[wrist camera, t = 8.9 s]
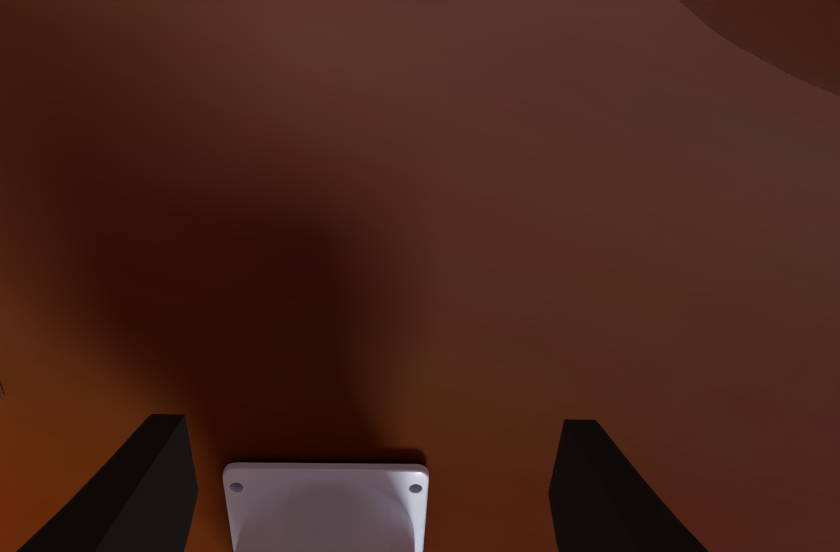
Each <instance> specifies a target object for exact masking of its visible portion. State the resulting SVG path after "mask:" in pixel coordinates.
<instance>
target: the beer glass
mask: <svg viewBox="0 0 840 552" xmlns="http://www.w3.org/2000/svg"><path fill="white" fill-rule="evenodd" d="M679 1H680V2H681V3H682V4H683V5H684V6H685V7H687V8H688V9H689V10H690V11H691V12H692V13H693V14H695V15H696V16H697V17H698V18H699V19H700V20H701V21H703V22H704V23H705V24H706V25H707V26H708V27H710V28H711V29H712V30H713V31H715V32H716V33H717V34H719V35H720V36H722V37H723V38H725V39H726V40H728V41H730V42H731V43H733V44H735V45H736V46H738V47H740V48H742V49H744V50H745V51H747V52H749V53H751V54H753V55H755V56H756V57H758V58H760V59H762V60H764V61H766V62H767V63H769V64H771V65H773V66H775V67H776V68H778V69H780V70H782V71H784V72H786V73H788V74H790V75H791V76H793V77H795V78H797V79H800V80H802V81H804V82H807V83H809V84H811V85H814V86H816V87H819V88H821V89H824V90H826V91H829V92H831V93H834V94H836V95H839V96H840V0H679Z"/></svg>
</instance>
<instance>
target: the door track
mask: <svg viewBox="0 0 840 552" xmlns="http://www.w3.org/2000/svg"><path fill="white" fill-rule="evenodd" d="M3 397H4V393H3V391H2V388H1V385H0V401H1V400H2V398H3Z"/></svg>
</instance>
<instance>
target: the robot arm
mask: <svg viewBox="0 0 840 552" xmlns="http://www.w3.org/2000/svg"><path fill="white" fill-rule="evenodd" d="M236 483H240V484H236ZM428 483H429V474H428V469H427V468H426V467H425V466H423V465H419V464H356V463H243V462H236V463H230V464H228V465H227V466H226V467H225V469H224V472H223V484H224V491H225V497H226V504H227V511H228V517H229V524H230V531H231V537H232V544H233V550H234V552H423V545H424V533H425V520H426V508H427V495H428ZM413 484H418V485H413ZM197 495H198V486H197V480H196V475H195V469H194V464H193V458H192V453H191V447H190V442H189V436H188V431H187V425H186V419H185V415H171V414H151V415H150V416H149V417H148V418H147V419H146V420H145V421H144V422H143V423H142V424H141V425H140V426H139V427H138V428H137V430H136V431H135V432H134V433H133V434H132V435H131V436H130V437H129V438H128V439H127V441H126V442H125V443H124V444H123V445H122V446H121V447H120V448H119V449H118V450H117V452H116V453H115V454H114V455H113V456H112V457H111V458H110V459H109V460H108V461H107V462H106V463H105V464H104V466H103V467H102V468H101V469H100V470H99V471H98V472H97V473H96V474H95V475H94V476H93V477H92V478H91V479H90V480H89V481H88V482H87V483H86V484H85V485H84V486H83V487H82V488H81V490H80V491H79V492H78V493H77V494H76V495H75V496H74V497H73V498H72V499H71V500H70V501H69V502H68V503H67V504H66V505H65V506H64V507H63V508H62V509H61V510H60V511H59V512H58V513H57V514H56V515H55V516H54V517H53V518H51V519H50V520H49V521H48V522H47V523H46V524H45V525H44V526H43V527H42V528H41V529H40V530H39V531H38V532H37V533H36V534H35V535H33V536H32V537H31V538H30V539H29V540H28V541H27V542H26V543H25V544H24V545H23V546H22V547H21V548H20V549H18V550H17V551H16V552H184V549H185V546H186V543H187V538H188V534H189V530H190V526H191V522H192V517H193V513H194V508H195V504H196V499H197ZM549 500H550V506H551V513H552V519H553V525H554V530H555V536H556V542H557V546H558V550H559V552H708V550H707V549H706V548H705V547H704V546H703V545H702V544H701V543H700V542H699V541H698V540H697V539H696V538H695V537H694V536H693V535H692V534H691V533H690V532H689V531H688V529H687V528H686V527H685V526H684V525H683V524H682V523H681V522H680V521H679V520H678V519H677V517H676V516H675V515H674V514H673V513H672V512H671V511H670V509H669V508H668V507H667V506H666V505H665V504H664V503H663V501H662V500H661V499H660V498H659V497H658V496H657V495H656V493H655V492H654V491H653V490H652V489H651V488H650V486H649V485H648V484H647V483H646V482H645V480H644V479H643V478H642V477H641V476H640V474H639V473H638V472H637V471H636V469H635V468H634V467H633V466H632V464H631V463H630V462H629V461H628V460H627V458H626V457H625V456H624V455H623V453H622V452H621V451H620V450H619V448H618V447H617V446H616V444H615V443H614V442H613V441H612V439H611V438H610V437H609V436H608V434H607V433H606V432H605V430H604V429H603V428H602V427H601V425H600V424H599V423H598V422H597V421H596V420H564V424H563V428H562V433H561V437H560V442H559V447H558V451H557V456H556V460H555V465H554V470H553V474H552V479H551V483H550V488H549Z"/></svg>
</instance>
